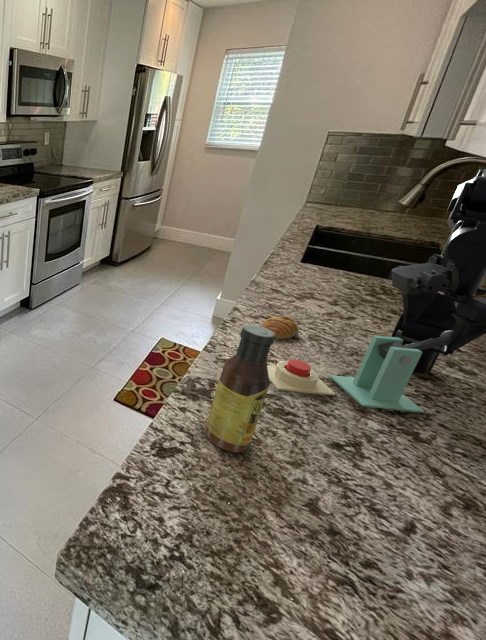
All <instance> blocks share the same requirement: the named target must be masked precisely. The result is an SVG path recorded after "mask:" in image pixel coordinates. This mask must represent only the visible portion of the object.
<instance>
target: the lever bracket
mask: <svg viewBox="0 0 486 640" xmlns="http://www.w3.org/2000/svg"><path fill="white" fill-rule="evenodd" d="M392 342H398V343H400V344H402V342H403V340H402V339H400V338H398V337H391V336H387V335H386V336H385V335H372V337H371V340H370V341H369V344H368V346H367V349H366V350H365V353H364V355H363V358H362V360H361V362H360V365H359V367H358V369H357V371H356V374H355V376H354V377H353V376H341V375H333V374H329V378H330V379H331V380H332V381H333V382H334V383H336V384H337V385H338V386H339V387H340V388H341V389H342V390H344V391H345V392H346V393H347V394H348V395H349V396H350V397H351V398H353V399H354V400H355V401H356V402H357V403H358V404H359V405H360V406H361V407H365V408H374V409H383V410H394V411H403V412H411V413H422V414H425V410H424V409H423V408H421V407H420V406H418V404H416V403H415V402H413V401H412V400H411V399H410V398H408V397H407V396H406V395H405V394H403V393H404V392H405V389H406V387H407V385H408V384H409V383H408V382H409V381H410V379H411V377H412V375H413V371H414V369H415V367H416V365H417V363H418V361H419V358H420V356H421V354H422V351H420V350H418V349H411V348H400V347H390V349H389V351H388V353H387V355H386V358H385V359H384V358H382V357H381V356H380V350H379V345H383V344H387V343H392Z"/></svg>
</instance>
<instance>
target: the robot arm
mask: <svg viewBox="0 0 486 640" xmlns="http://www.w3.org/2000/svg"><path fill="white" fill-rule="evenodd" d="M446 212H448V213H450V214H449V215H448V216H449V217H448V219H447V221H446V223H447V225H448V227H449V230H450V234H449V236H448V239H447V241H446V243H445V245H444V248H443V250H442V251H441V254H440V253H433V254H432V255H431V256H429V258H428V261H426V263H415V264H410V265H409V264H408V265H398V266H396V267H393V268H392V269H391V270H390V272H389V274H388V277H387V279H388V280H390V281H391V287H393V288H395V289H397V291H399V292H400V293H401V298H402V312H401V313H400V316H399V318H398V320H397V322H396V324H395V326H394V328H393V331H392V333H391V336H390V337H398V338H400V339H402V340H403V342H402V344H401V345H407V344H412V343H416V342H420V341H425V340H429V339H434V338H438V337H440V335H441V334H442V333H443V332H445V331H448V330H453V332H452V335H451V337H450V339H449V342H448V346H446V345H443V346H438V347H434V348H429V349H424V350H420V351H422V354H421V356H420V358H419V361H418V363H417V365H416V367H415V369H414V371H413V373H414V374H420V375H421V374H422V375H423V374H424V375H425V374H427V373H428V372H429V373H431V371H432V369H434V368H433V367H434V365H435V363H436V362H437V360H438V358H439V356H440V354H442V355H443V356H446V357H447V356H448V355H453V354H454V352H455V351H457V350H459V349H461V348H463V347H464V346H466V345H468V344H469V343H471V342H473V341H475V340H476V339H477V338H480V337H482V336H483V335H486V297H477V296H476V295H478V296H485V295H486V288H485V287H483V286H482V284H483V282H484V280H485V278H486V168H485V169H479V170H478V172H477V174H476V176H474V177H473V178H471V179H469V180H467V181H464V182H462V183H460V184H458V185H457V188H456V189H455V192H454V194H453V196H452V199H451V200H450V203H449V205H448V207H447V209H446ZM456 303H457V306H456ZM413 373H412V374H413Z"/></svg>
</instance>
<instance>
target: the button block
mask: <svg viewBox="0 0 486 640" xmlns="http://www.w3.org/2000/svg"><path fill="white" fill-rule="evenodd" d="M288 361H289V360H280V361H278V362H277V363H276V365H271V364H270V365H269V364H267V369H268V376H269V382H270V383H271V384H272V385H273V386H274V387H275V389H276V390H278V391H288V392H296V393H297V392H298V393H305V394H306V393H307V394H314V395H315V394H316V395H325V396H336V393H335V392H334V391H333V390H332V389H331V387H329V386H328V385H327V384H326V383H325V382H324V381H322V380H321V379H320V378H319V375H318V374H317V372H316V371H315V370H314V369H312V368H311V370H310V372H309V375H308V377H300V376H297V375H294V374H292V373H290V372H288V371H287V370H286V366H287V363H288Z"/></svg>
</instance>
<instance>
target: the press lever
mask: <svg viewBox="0 0 486 640" xmlns="http://www.w3.org/2000/svg"><path fill="white" fill-rule="evenodd" d="M452 332H453V330H448V331H445V332H443V333H442V334H441V335H440V337H438V338H434V339H429V340H425V341H420V342H416V343H412V344H407V345H401V344H400V343H398V342H392V343H387V344H383V345H379V350H380V356H381V357H382V358H384V359H385V358H386V355H387V353H388V351H389V349H390V347H400V348H411V349H418V350H424V349H429V348H434V347H438V346H443V345H446V346H448V342H449V339H450V337H451V335H452Z"/></svg>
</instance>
